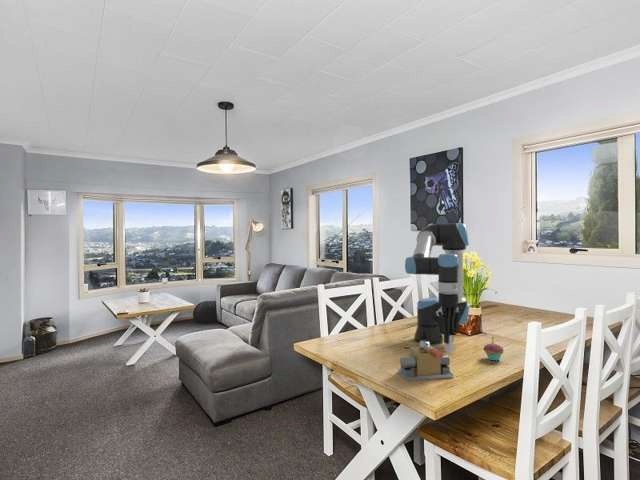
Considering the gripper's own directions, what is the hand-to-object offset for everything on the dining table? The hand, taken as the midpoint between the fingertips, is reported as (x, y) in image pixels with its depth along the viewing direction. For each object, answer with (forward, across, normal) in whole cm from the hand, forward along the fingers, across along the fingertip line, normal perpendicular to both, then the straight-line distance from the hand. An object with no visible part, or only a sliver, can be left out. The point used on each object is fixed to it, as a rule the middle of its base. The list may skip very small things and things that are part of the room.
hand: (448, 350), depth 145 cm
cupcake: (+12, +37, +7) cm, 39 cm away
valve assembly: (+12, -4, +9) cm, 16 cm away
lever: (+1, -6, +4) cm, 7 cm away
